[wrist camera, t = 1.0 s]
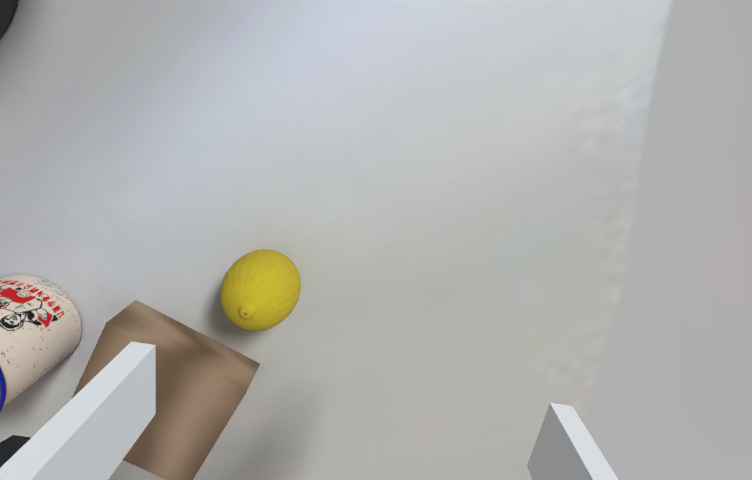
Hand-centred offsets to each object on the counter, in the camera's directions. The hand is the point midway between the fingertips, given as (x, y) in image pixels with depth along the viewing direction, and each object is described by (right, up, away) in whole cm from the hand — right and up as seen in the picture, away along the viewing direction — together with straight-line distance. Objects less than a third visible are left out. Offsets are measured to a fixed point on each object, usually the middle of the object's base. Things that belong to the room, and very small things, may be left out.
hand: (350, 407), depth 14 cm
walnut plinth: (-18, -7, +25) cm, 31 cm away
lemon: (-8, +3, +21) cm, 23 cm away
